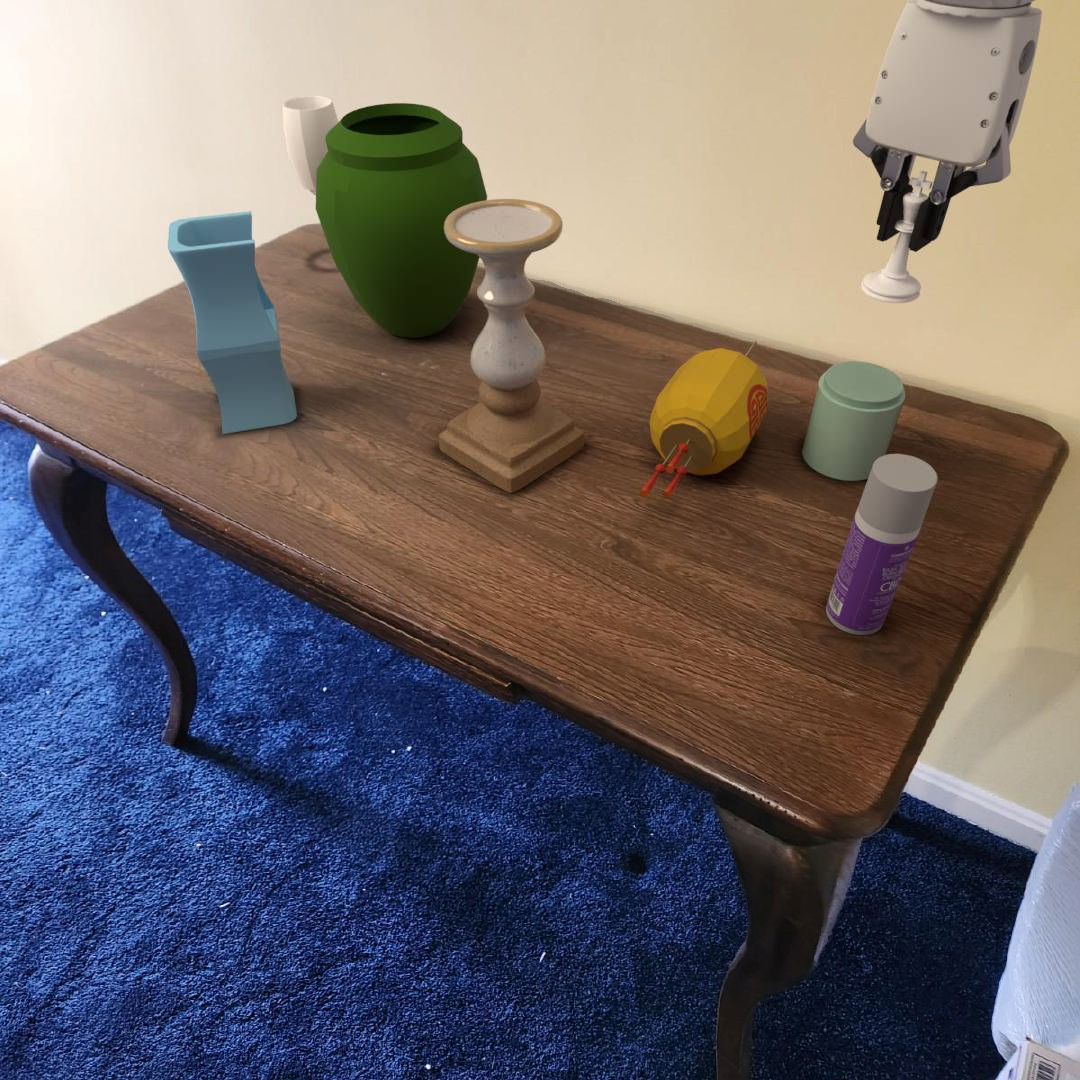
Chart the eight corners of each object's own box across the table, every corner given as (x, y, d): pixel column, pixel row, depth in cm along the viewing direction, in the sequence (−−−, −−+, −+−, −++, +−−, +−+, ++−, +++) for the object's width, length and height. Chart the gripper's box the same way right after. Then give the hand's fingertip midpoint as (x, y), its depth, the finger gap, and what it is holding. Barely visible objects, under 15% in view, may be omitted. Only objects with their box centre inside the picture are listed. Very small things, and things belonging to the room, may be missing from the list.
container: (871, 644, 69) (926, 501, 59) (816, 618, 71) (860, 476, 61) (892, 610, 72) (948, 468, 62) (838, 586, 74) (885, 444, 64)
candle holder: (511, 495, 83) (501, 260, 67) (437, 449, 89) (411, 221, 73) (586, 446, 89) (594, 219, 73) (512, 406, 95) (504, 186, 79)
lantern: (700, 452, 70) (797, 298, 90) (594, 443, 75) (708, 299, 95) (712, 548, 76) (801, 384, 96) (613, 534, 81) (717, 381, 100)
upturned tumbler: (855, 428, 91) (877, 353, 85) (898, 473, 86) (925, 396, 79) (787, 441, 90) (805, 365, 84) (826, 487, 84) (848, 410, 78)
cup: (366, 250, 125) (343, 95, 111) (351, 272, 120) (326, 112, 106) (318, 247, 126) (289, 93, 112) (302, 269, 121) (269, 110, 107)
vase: (331, 299, 114) (294, 100, 97) (475, 280, 118) (463, 86, 101) (346, 374, 100) (306, 157, 84) (509, 350, 104) (501, 138, 87)
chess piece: (905, 309, 72) (942, 188, 65) (850, 291, 75) (880, 173, 68) (928, 288, 75) (966, 170, 68) (875, 272, 77) (906, 157, 71)
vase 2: (298, 422, 93) (255, 242, 79) (222, 434, 91) (166, 253, 78) (292, 384, 98) (251, 210, 85) (221, 395, 97) (168, 220, 83)
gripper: (1119, -11, 57) (1017, 255, 70) (896, -39, 66) (840, 203, 78) (1078, 7, 53) (978, 285, 66) (846, -25, 62) (796, 228, 74)
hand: (904, 239), depth 72 cm, fingers closed on chess piece
